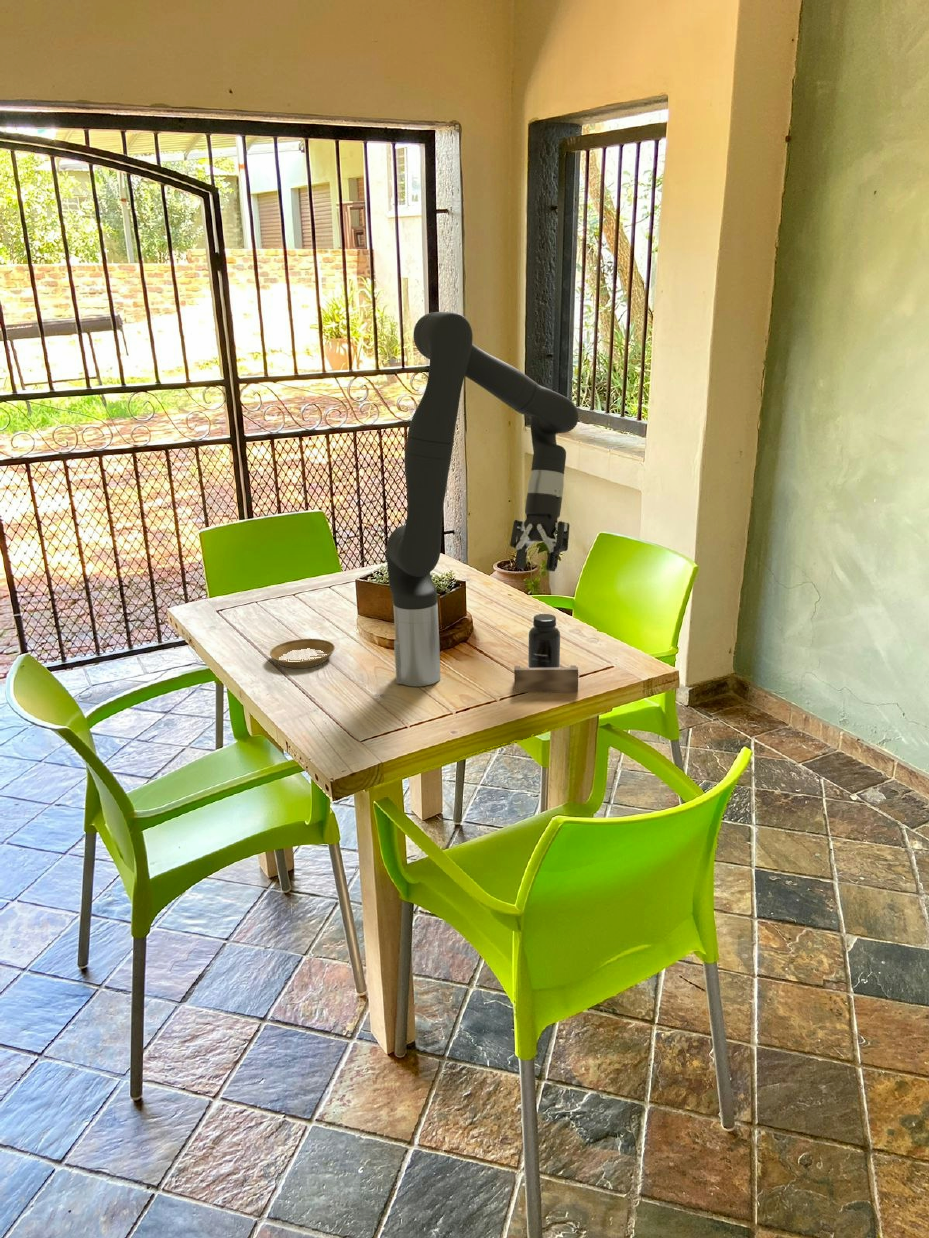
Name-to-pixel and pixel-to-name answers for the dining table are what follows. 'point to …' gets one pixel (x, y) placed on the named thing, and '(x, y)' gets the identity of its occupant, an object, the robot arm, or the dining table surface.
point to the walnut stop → (546, 679)
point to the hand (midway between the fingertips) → (535, 569)
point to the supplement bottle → (544, 642)
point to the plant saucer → (298, 645)
